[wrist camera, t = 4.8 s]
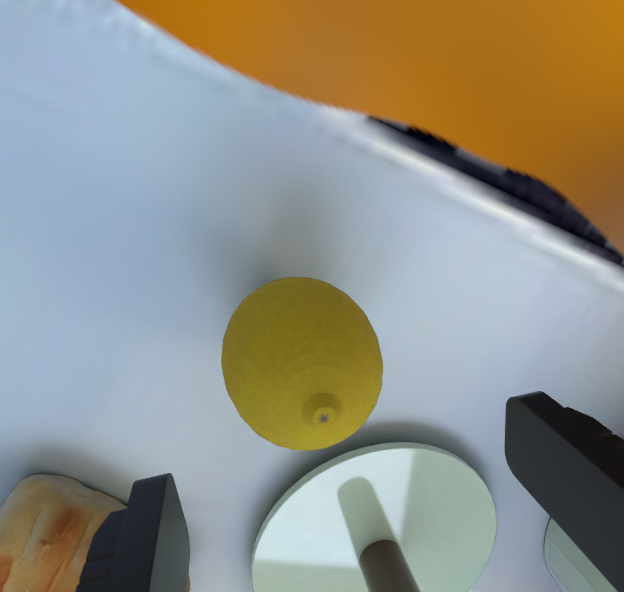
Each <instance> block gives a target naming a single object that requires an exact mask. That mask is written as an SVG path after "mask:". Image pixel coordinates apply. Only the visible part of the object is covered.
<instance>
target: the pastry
mask: <svg viewBox="0 0 624 592" xmlns="http://www.w3.org/2000/svg"><path fill="white" fill-rule="evenodd" d="M122 509H127V506H125V505H124V503H122V502H120V501H119V500H117V499H116V498H114V497H111V496H108V495H106V494H104V493H103V492H101V491H99V490H97V491H94V490H91V489H89V488H87V487H85V486H83V485H82V484H81V483H80V482H78V481H76V480H73V479H71V478H69V477H66V476H61V475H46V474H35V475H31V476H29V477H28V478H25V479H23V480H22V481H20V482H19V483H18V484H17V486H16V487H15V488H14V490H13V491H12V492H11V493H10V494H9V495H8V497H7V499H6V500H5V502H4V504H3V507H2V508H1V510H0V592H75V590H76V587H77V585H79V578H80V575H81V572H82V569H83V566H84V564H86V557H87V553H88V550H89V547H90V544H91V541H92V538H93V535H94V534H95V532H96V531H97V530H98V528H99V527H100V526H101V524H102V523H103V522H104V520H105V519H106V518H107V516H108V515H109V514H110V512H114V511H118V510H122ZM189 591H190V579H189V574H188V585H187V592H189Z"/></svg>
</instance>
